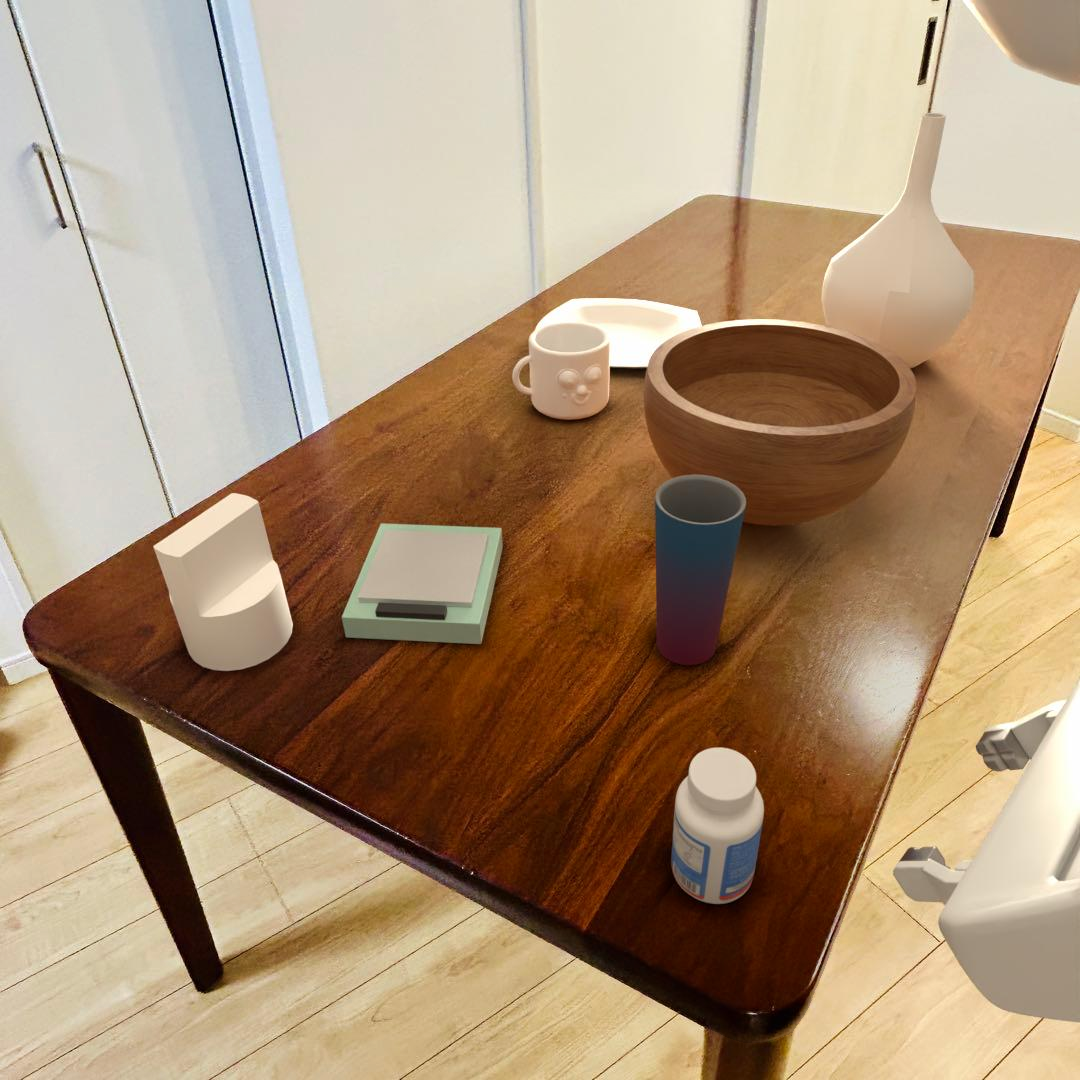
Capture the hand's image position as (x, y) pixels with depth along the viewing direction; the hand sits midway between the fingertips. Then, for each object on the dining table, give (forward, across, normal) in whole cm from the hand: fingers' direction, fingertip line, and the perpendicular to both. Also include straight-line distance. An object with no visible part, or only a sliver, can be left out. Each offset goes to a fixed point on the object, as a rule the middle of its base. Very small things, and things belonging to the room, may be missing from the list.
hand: (948, 807), depth 43 cm
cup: (+30, -17, -6) cm, 35 cm away
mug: (+55, -42, -31) cm, 76 cm away
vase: (+39, -81, -15) cm, 91 cm away
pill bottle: (+20, 0, +4) cm, 21 cm away
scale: (+46, -7, -22) cm, 51 cm away
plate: (+60, -62, -36) cm, 94 cm away
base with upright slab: (+51, +8, -28) cm, 59 cm away
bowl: (+34, -39, -10) cm, 53 cm away
